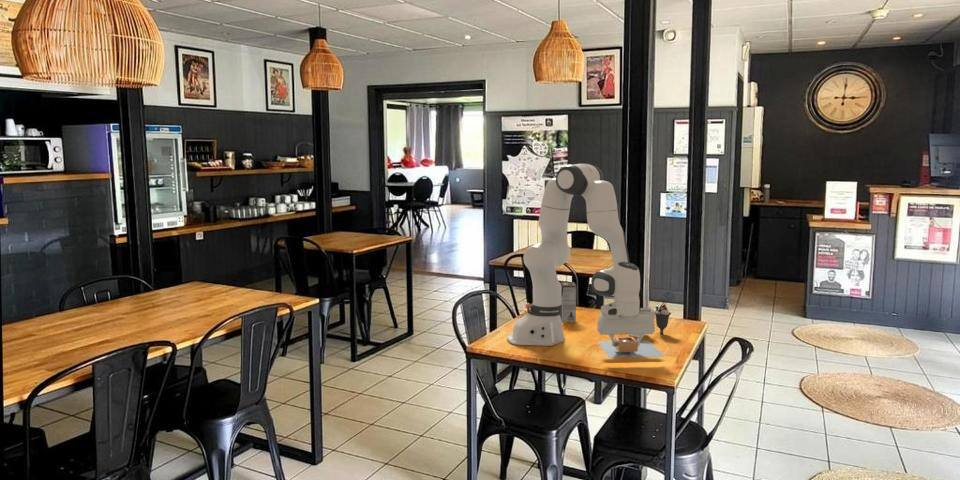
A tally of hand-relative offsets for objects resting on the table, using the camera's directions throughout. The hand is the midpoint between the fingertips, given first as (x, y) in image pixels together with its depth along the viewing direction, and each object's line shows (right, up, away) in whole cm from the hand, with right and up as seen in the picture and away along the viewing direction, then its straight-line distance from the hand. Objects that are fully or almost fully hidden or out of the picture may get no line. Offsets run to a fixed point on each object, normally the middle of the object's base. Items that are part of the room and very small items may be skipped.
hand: (625, 345), depth 237 cm
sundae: (+20, -1, +25) cm, 32 cm away
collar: (0, -1, 0) cm, 1 cm away
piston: (0, -3, 0) cm, 3 cm away
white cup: (+10, -1, +25) cm, 27 cm away
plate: (+3, -3, +6) cm, 7 cm away
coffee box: (-14, +3, +54) cm, 56 cm away
